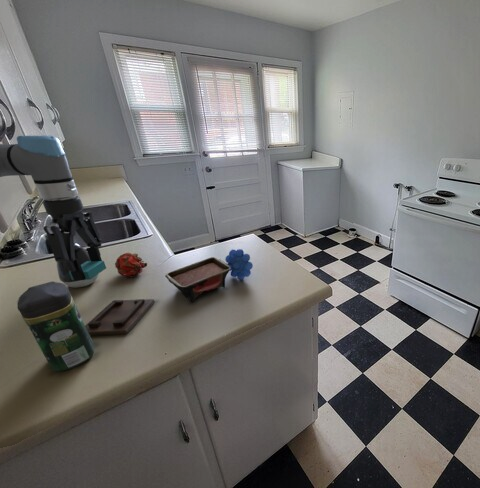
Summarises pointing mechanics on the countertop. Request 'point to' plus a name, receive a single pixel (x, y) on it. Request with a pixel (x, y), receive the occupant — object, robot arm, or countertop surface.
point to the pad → (91, 269)
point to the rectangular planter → (199, 277)
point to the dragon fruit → (129, 264)
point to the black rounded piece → (64, 273)
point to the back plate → (118, 317)
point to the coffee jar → (56, 325)
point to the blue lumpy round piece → (239, 263)
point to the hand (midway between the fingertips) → (89, 272)
